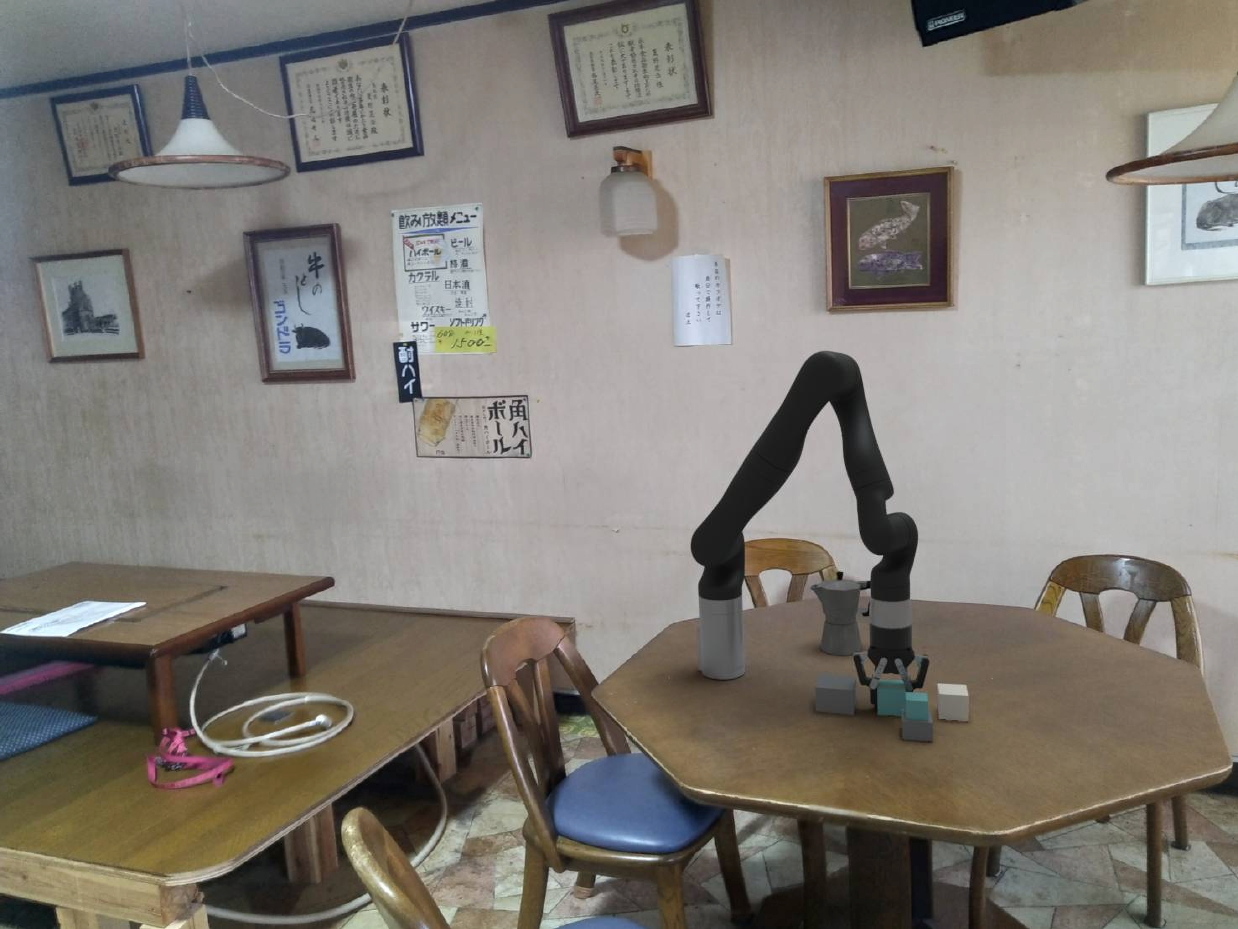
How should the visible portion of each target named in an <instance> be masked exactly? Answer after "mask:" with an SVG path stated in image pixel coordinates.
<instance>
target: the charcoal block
mask: <svg viewBox="0 0 1238 929" xmlns="http://www.w3.org/2000/svg"><path fill="white" fill-rule="evenodd" d="M814 694H815V695H814V699H815V700H814V701H815V703H814V704H815V712H816V711H821V712H820V713H826V712H828V713H829V714H837V713H839V715H849V716H854V715H855V711H854V710H856V705H857V700H858V698H857V676H855V675H845V674H831V673H819V674H818V676H817V679H816V683H815V687H814Z"/></svg>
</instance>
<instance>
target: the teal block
mask: <svg viewBox="0 0 1238 929" xmlns="http://www.w3.org/2000/svg"><path fill="white" fill-rule="evenodd" d="M877 703H878V708H877V715H878V716H888V715H895V716H894V717H902V709H906V689H905V685H904V682H903V681H902V679H901V680H900V679H882V678H880V680H879V682H878V684H877ZM896 715H897V716H896Z"/></svg>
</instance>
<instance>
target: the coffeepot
mask: <svg viewBox="0 0 1238 929" xmlns="http://www.w3.org/2000/svg"><path fill="white" fill-rule="evenodd" d="M835 575H836V578H834V579H833V578H832V579H826V580H821V582H819V583H816V584H813V585H811V586H810V587H809V590H812V591H813V593H814V594H815V595H816V597H817V598H818V600H819V601H820V603H821V608H822V613H823V614H824V616H825V618H824V623H823V629H822V634H821V635H822V636H821V641H820V642H821V644H820V650H822V651H823V652H824V653H826V654H828V655H832V656H838V657H848V656H854V652H855V651H858V652H862V649H863V648H862V647H863V646H862V645H863V644H862V640H861V634H860V630H859V623H858V621H857V618H856V617H857V616H856V615H857V614H858V610H859V603H860V595H861V591H865V590H871V588H870V580H857V581H855V580H853V579H847V578H844V571H836V572H835ZM870 599H871V597H870ZM870 599H869V600H870ZM869 607H870V601H869V602H868V604H867V611H865V612H861V615H862V616H863V617H864V618H865V617H867V618H869Z"/></svg>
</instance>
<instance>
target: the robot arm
mask: <svg viewBox="0 0 1238 929" xmlns="http://www.w3.org/2000/svg"><path fill="white" fill-rule="evenodd" d="M828 403H829V404H830V406H831V407H832V409H833V411H834V413H835V416H836V418H837V420H838V425H839V428H840V432H841V442H842V444H841V445H842V457H843V464H844V468H845V471H846V476H847V477H848V479H849V482H850V485H851V488H852V491H853V493H854V496H855V499H856V511H857V512H856V514H857V520H858V521H857V522H858V530H859V536H860V540H861V541H862V544H863V545H864V546H865V548H866V550H868V552H870V553H871V554H872V555H876V556H881V559H880V561H879V562H878V563H876V564H875V565H874V566H872V569H871V571H870V580H869V581H870V588H871V589H870V598H871V599H869V602H870V607H869V616H868V619H869V620H868V621H869V647H868V649H867V650H866V651H860V652H858V651H855V652H854V655H852V656H853V662H854V666H855V670H856V673H857V677H858V681H859V684H860V685H861V686H866V687H868V688H869V692H870V694H869V698H870V699H869V701H870V702H869V703H870V705H872V706H873V708H876V709H878V703H877V684H878V682H879V680H880V679H882V676H883V674H884V675H885V674H886V675H888V674H893V675H900V678H901V680H902V681H903V682H904V685H905V689H906V692H914V690H917V689H918V690H920V689H923V688H924V685H925V681H926V678H927V672H928V670H929V666H930V657H929V655H928V654H923V655H921V654H918V653H915V651H914V649H913V638H912V637H913V611H912V609H913V608H912V603H911V602H912V601H911V572H912V569H913V567H914V562H915V558H916V553H917V549H918V543H919V532H918V527H917V523H916V522H915V520H914V518H912V516H911V515H909V514H907V513H906V512H903V511H894V512H891V513H887V504H886V503H887V501H888V500H890V499H891V498H892V497H893V495H894V494H895V490H894V489H895V488H894V485H893V482H892V480H891V477H890V474H889V472H888V469H887V466H886V463H885V461H884V457H883V455H882V453H881V449H880V446H879V444H878V441H877V438H876V433H875V431H874V428H873V424H872V419H871V416H870V411H869V407H868V402H867V398H866V392H865V386H864V381H863V376H862V372H861V369H860V367H859V364H858V363H857V361H856V360H855V359H854V358H853V357H852V356H851V355H848V354H846V353H843V352H837V351H830V350H820V351H817V352H814V353H813V354H812V355H810V356H809V357H808V358H807V359H806V360H804V362H803V364H802V366H801V367H800V369H799V370H798V373H797V374H796V377H795V378H794V380H793V382H792V384H791V385H790V388H789V390H788V392H787V394H786V396H785V397H784V400H783V401H782V403H781V405H780V406H779V408H778V409H777V410H776V412H775V414H774V415H773V416H772V418H771V420H770V421H769V423H768V424H767V426H766V427H765V429H764V430H763V432H762V433H761V435H760V436H759V437H758V438H757V440H756V441H755V442H754V444H753V446H752V448H750V451H749V452H748V453H747V455H746V456H745V458H744V460H743V461H742V463H741V465H740V467H739V468H738V470H737V471H736V472H735V475H734V476H733V478H731V479H732V480H731V481H730V483H729V485H728V487H727V488H726V490H725V491H724V493H723V495H722V496H721V498H720V500H719V501H718V503H717V504H716V505H715V506H714V508H713V509H712V510H711V511H710V512H709V514H708V515H707V516H706V517H705V519H703V521H702V522H701V523H700V524H699V526H698V527H697V528H696V529H695V530H694V532H693V534H692V536H691V539H690V552H691V556H692V557H693V559H694V560H695V562H696V563H697V564H699V565H700V566H702V567H704V568H703V572H702V575H701V576H700V579H699V580H698V584H697V591H698V592H697V593H698V610H699V611H698V613H699V626H697V628H696V642H697V643H696V645H697V665H698V666H697V669H698V671H701V674H702V675H703V676H704V677H707V678H709V679H712V680H721V681H722V680H732V679H737V678H740V677H741V676H743V675H744V674H745V671H746V667H745V639H744V638H745V636H744V610H743V609H744V606H743V605H744V604H743V585H744V581H745V577H746V547H745V546H746V545H745V544H746V543H745V535H744V532H743V531H744V529H745V528H746V526H747V525H748V523H749V522H751V520H752V519H753V518H754V516H756V514H758V513H759V512H760V511H761V510H762V509H763V508H764V507H765V506H766V505H767V504H768V503H769V502H770V501H771V500H772V499H773V497H774V496H775V495H777V493H778V492H779V491H780V490H781V488H782V487H783V486H784V484H785V483H786V481H787V480H788V479H789V478H790V476H791V475H792V473H793V472H794V470H795V468H796V467H797V465H798V464H799V462H800V460H801V456H802V454H803V451H804V448H805V447H804V445H805V443H806V442H805V441H806V438H807V435H808V432H809V429H810V427H811V425H812V424H813V422H814V421H815V420H816V418H817V417H818V415H819V414H820V413H821V412H822V410H823V409H824V408H825V407H826V405H827V404H828ZM867 659H868V660H870V662H871V664H873V666H874V669H873V671H872V674H871V677H869V676H867V673H866V670H865V666H864V665H865V664H866V660H867ZM913 661H915V662H916V667H918V671H917V673H916V678H915V679H911V676H910V673H909V670H908V667H909V666H910V665H911V664H912V663H913Z"/></svg>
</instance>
